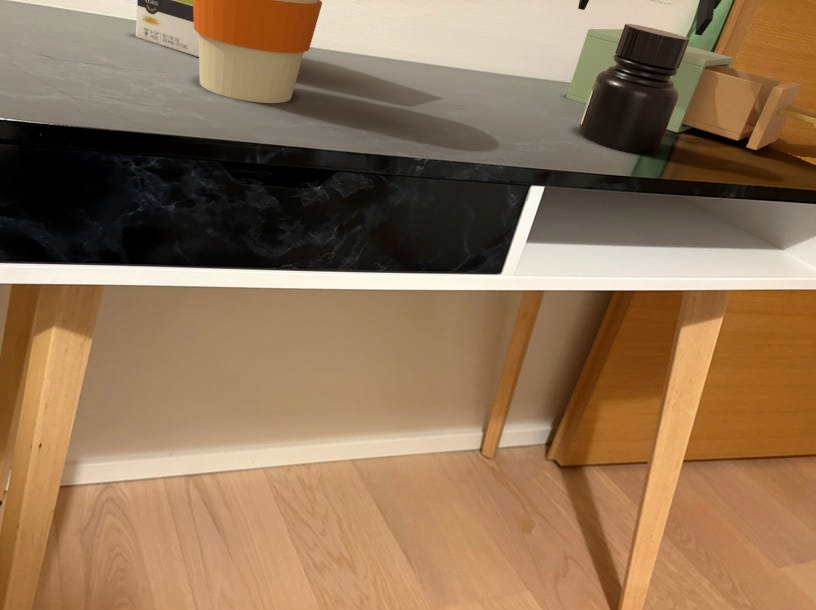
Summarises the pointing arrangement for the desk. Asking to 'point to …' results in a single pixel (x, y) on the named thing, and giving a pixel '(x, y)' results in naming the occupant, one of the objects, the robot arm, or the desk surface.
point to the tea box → (168, 24)
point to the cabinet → (600, 58)
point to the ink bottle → (635, 92)
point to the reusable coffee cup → (253, 46)
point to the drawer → (744, 105)
